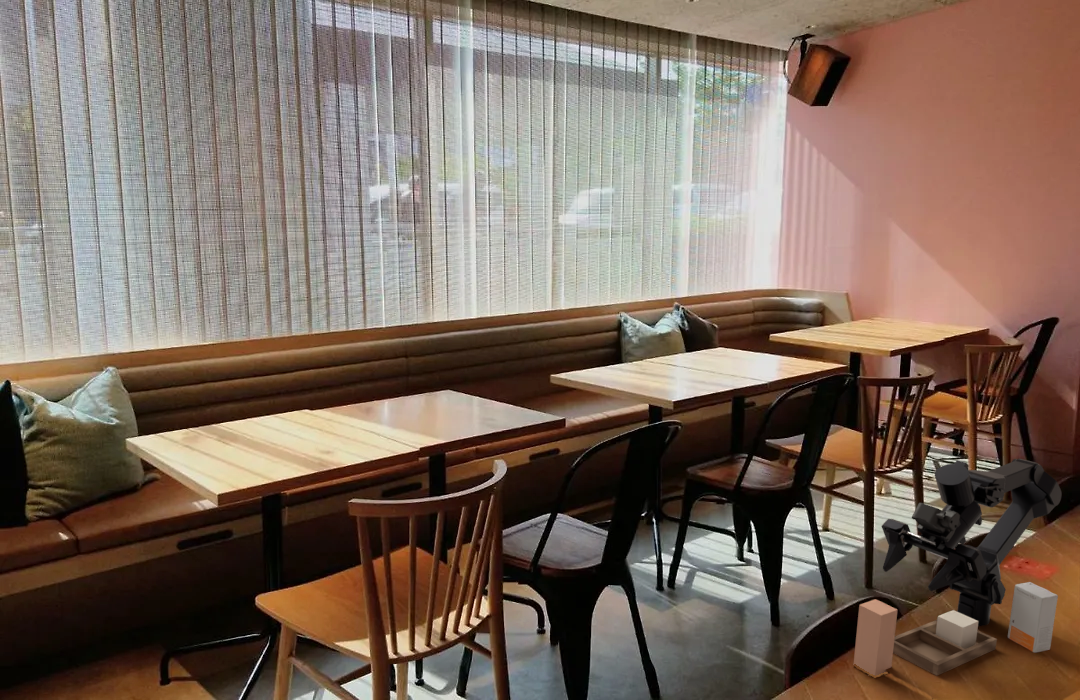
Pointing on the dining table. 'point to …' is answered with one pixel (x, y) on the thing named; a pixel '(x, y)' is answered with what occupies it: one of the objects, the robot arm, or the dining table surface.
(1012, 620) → the skincare box
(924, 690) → the dining table surface
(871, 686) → the dining table surface
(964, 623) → the cream block
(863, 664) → the terracotta peg
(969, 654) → the walnut slot tray
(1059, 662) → the dining table surface
